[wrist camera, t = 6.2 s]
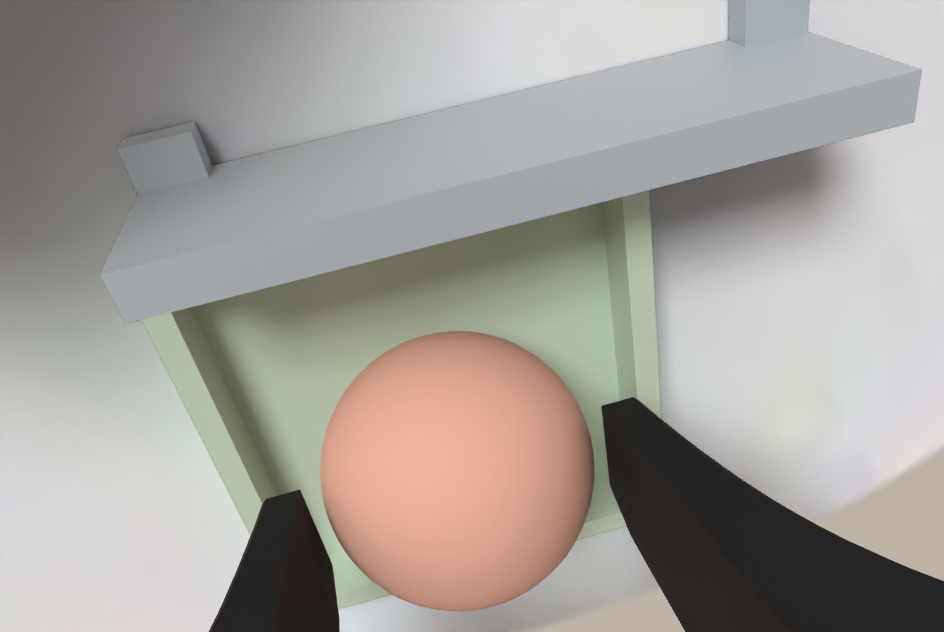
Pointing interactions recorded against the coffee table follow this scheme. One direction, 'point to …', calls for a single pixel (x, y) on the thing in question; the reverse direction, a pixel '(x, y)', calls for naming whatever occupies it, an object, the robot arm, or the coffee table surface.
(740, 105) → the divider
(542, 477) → the ball
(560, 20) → the coffee table surface
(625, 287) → the tray
